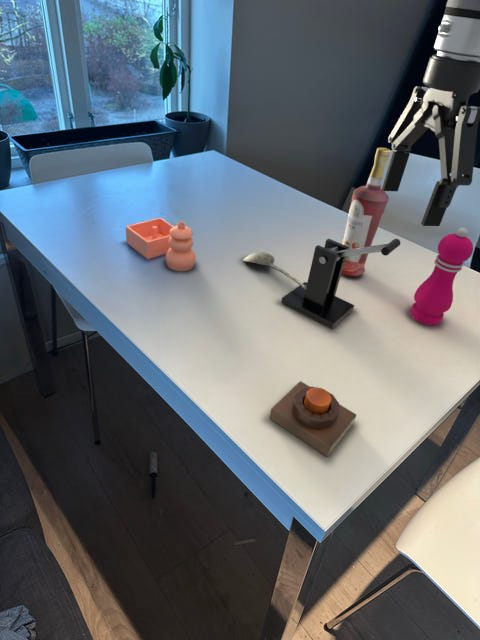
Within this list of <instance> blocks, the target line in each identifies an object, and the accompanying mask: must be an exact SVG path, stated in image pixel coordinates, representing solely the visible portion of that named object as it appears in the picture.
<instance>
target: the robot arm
mask: <svg viewBox="0 0 480 640" xmlns="http://www.w3.org/2000/svg"><path fill="white" fill-rule="evenodd" d="M433 49H434V51H436V54H431V56H430V57H429V59H428V63H427V66H426V70H425V71H424V76H423V79H422V83H423V85H424V86H417V85H416V86H415V87H414V88H413V91H412V93H411V96H410V99H409V101H408V103H407V104H406V106H405V108H404V110H403V112H402V114H400V117H399V118H398V120H397V122H396V123H395V125H394V127H393V129H392V130H391V132H390V134H389V136H388V138H387V142H388V143H389V144H391V150H392V151H391V156H390V159H389V163H388V167H387V170H386V174H385V177H384V180H383V182H382V183H383V184H382V186H381V189H382V190H383V191H385V192H399V189H400V186H401V183H402V179H403V177H404V172H405V170H406V167H407V164H408V161H409V158H410V155H411V153H410V152H411V151H412V146H413V145H414V144H415V143H416V142H417V141H418V139H420V138H421V137H422V136H423V135H424V134H425V132H426V131H427V130H429V129H430V130H431V131H432V132H433V133H434V134H435V137H436V138H437V139H438V148H439V162H440V164H439V165H440V178H441V179H439V180H438V181H436V183H435V185H434V188H433V190H432V193H431V196H430V198H429V201H428V204H427V207H426V209H425V212H424V214H423V217H422V219H421V222H420V225H421V226H423V227H440V225H441V224H442V221H443V218H444V215H445V213H446V211H447V208H449V207H450V205H451V203H452V201H453V198H454V195H455V193H456V190H457V188H458V187H460V186H470V185H472V183H473V174H474V166H475V155H476V144H477V135H478V128H479V124H480V106H474V105H468V103H469V98H470V97H471V96H472V95H475V94H476V93H478V92H479V90H480V0H447V2H446V5H445V9H444V13H443V17H442V19H441V23H440V25H439V26H438V32H437V35H436V39H435V42H434V45H433Z"/></svg>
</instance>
